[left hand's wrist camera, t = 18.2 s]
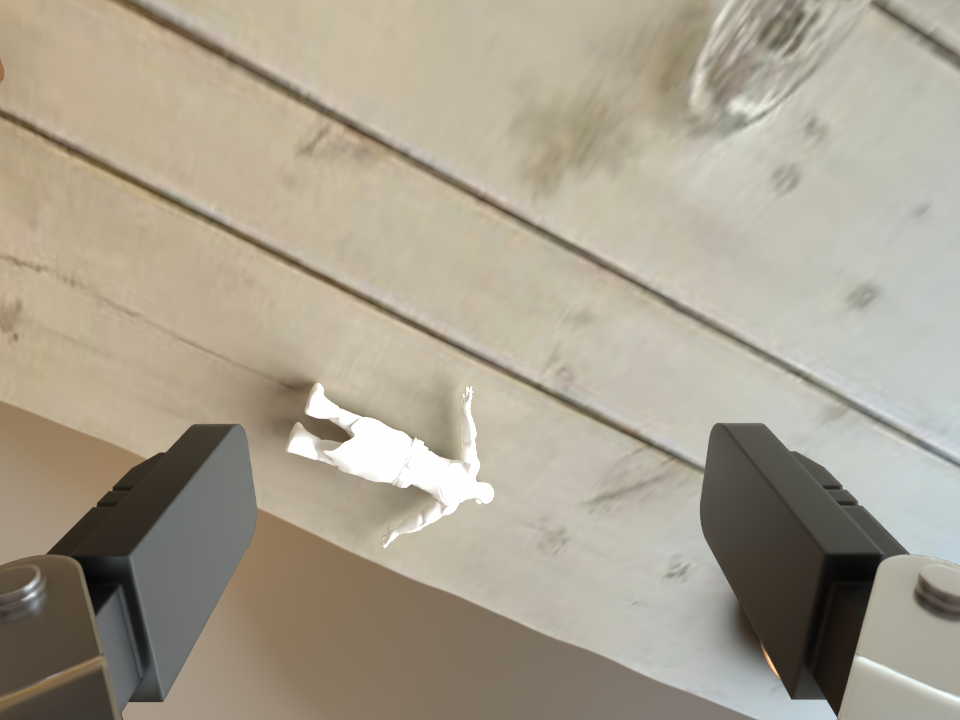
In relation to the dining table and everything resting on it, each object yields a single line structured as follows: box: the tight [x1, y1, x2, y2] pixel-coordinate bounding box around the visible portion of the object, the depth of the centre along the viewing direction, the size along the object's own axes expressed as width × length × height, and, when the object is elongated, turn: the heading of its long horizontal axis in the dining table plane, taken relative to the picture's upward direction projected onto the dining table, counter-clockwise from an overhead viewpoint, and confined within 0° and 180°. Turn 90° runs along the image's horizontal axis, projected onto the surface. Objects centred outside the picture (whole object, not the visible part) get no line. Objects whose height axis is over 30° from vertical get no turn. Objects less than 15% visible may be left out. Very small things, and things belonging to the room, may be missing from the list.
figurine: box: [285, 383, 494, 548], centre depth 54 cm, size 17×5×18 cm
